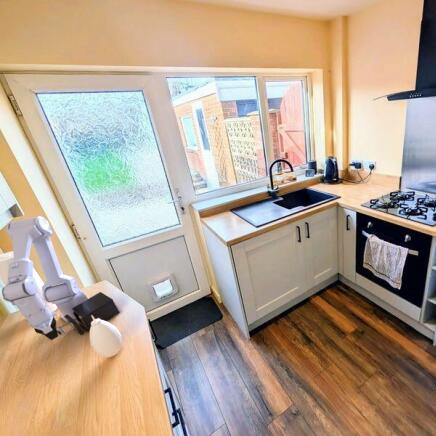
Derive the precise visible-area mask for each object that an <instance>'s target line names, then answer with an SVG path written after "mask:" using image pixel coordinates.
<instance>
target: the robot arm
mask: <svg viewBox="0 0 436 436" xmlns="http://www.w3.org/2000/svg"><path fill="white" fill-rule="evenodd" d="M5 230H6V234H7V236H8V237H9V238H10V239H11V240H12V251H14V261H12V262H11V263H10V264H9V269H8V282H7V285H5V286H3V287H2V289H1V295H2V299H3V300H4V302H7V303H10V304H11V305H12V306H16V308H17V309H18V310H19V312H20V313H21V314H22V315H23V317H24V319H26V321H27V322H28V324H29V326H30V327H31V328H32V329H33V330H34V332H35V333H36V334H40V335H43V336H45V338H47V339H49V340H50V341H53V340H55V339H57V338H58V337H59V333H58V332H57V329H56V327H57V319H56V318H55V316H57V315H58V313H57V310H55V311H54V312H52V313H51V312H50V311H49V309H48V308H47V306H46V305H45V303H44V302H43V301H42V299H41V298H40V296H39V295H38V293H37V288H38V287H37V283H36V281H35V278H34V277H33V268H34V261H32V260H30V256H31V251H32V246H33V247H34V249H35V252H36V255H37V258H38V260H39V263H40V265H41V268H42V270H43V274H44V276H45V279H46V281H44V282H43V283H44V284H43V286H42V292H43V293H42V295H43V299H44V300H45V301H46V302H48V303H50V302H51V303H52V304H55V305H56V306H57V309H58V311H59V313H60V314H61V315H60V318H61V319H62V320H63V321H65V323H66V322H67V320H66V319H65V317H64V316H65V315H67V314H68V315H69V316H70V317H71V318H73V319H74V320H77V319H76V318H75V316H74V315H73V310H72V308H74V307H75V306H77V305H79V304H80V303H82V302H84V301H86V300H87V299H89V298H88V297H87V295H86V293H85V292H84V291H82V289H80V287H79V284H78V283H77V281H76V279H75V278H74V276H70V275H67V274H64V273H63V270H62V267H61V265H60V262H59V259H58V256H57V253H56V251H55V248H54V245H53V242H52V239H51V236H53V231H52V227H51V226H50V223H49V221H48V220H47V219H46V218H45V217H44V216H39V215H38V216H36V217H31V218H25V219H21V220H16V221H9V222H8V223H7V224H6V226H5ZM32 244H33V245H32Z"/></svg>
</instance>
